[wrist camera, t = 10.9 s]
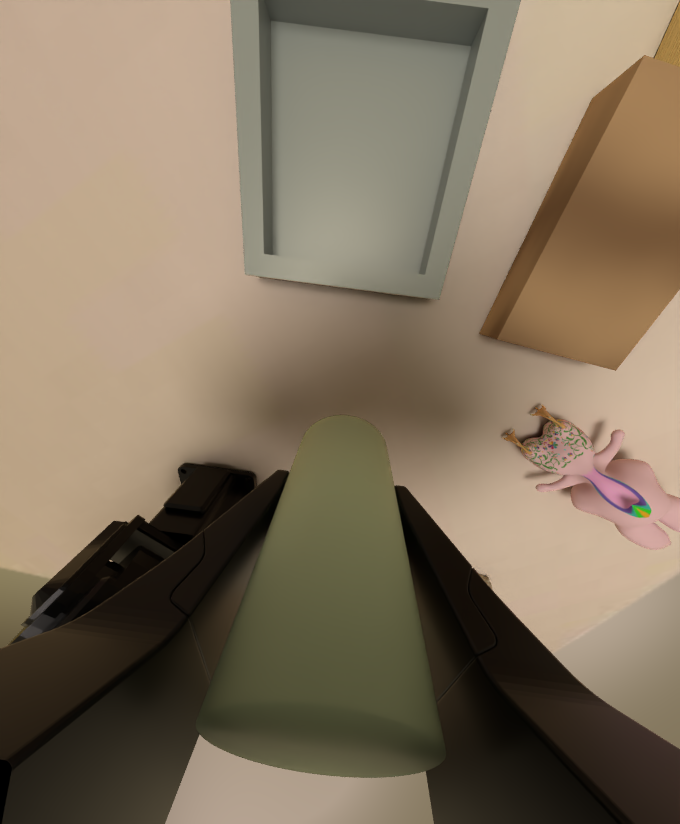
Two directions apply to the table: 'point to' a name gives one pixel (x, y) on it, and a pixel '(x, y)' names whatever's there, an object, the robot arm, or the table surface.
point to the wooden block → (671, 42)
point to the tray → (361, 134)
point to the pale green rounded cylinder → (329, 626)
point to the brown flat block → (603, 229)
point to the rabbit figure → (603, 481)
